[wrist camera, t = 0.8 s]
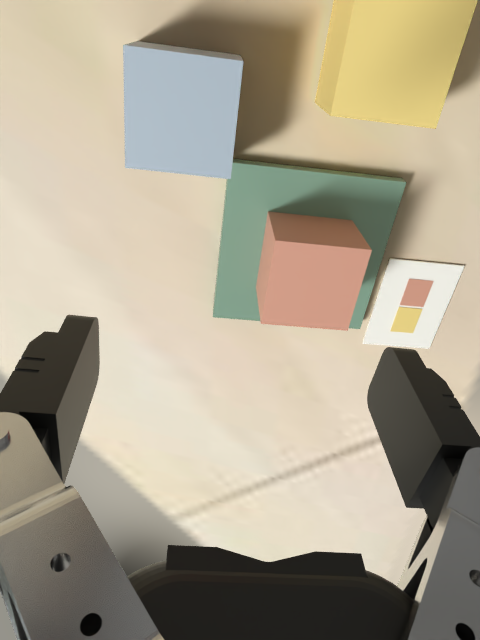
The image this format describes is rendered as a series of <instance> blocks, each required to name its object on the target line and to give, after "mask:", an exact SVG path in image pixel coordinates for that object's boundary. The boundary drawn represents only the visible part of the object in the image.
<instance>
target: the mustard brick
mask: <svg viewBox="0 0 480 640" xmlns="http://www.w3.org/2000/svg"><path fill="white" fill-rule="evenodd" d="M477 1H478V0H334V3H333V8H332V14H331V19H330V24H329V30H328V35H327V40H326V46H325V51H324V56H323V61H322V67H321V72H320V77H319V83H318V88H317V93H316V99H315V103H316V104H317V105H318V106H320V107H321V108H322V109H323V110H324V111H325V112H327V113H328V114H329V115H330V116H337V117H345V118H353V119H361V120H369V121H377V122H385V123H393V124H401V125H409V126H417V127H425V128H433V129H436V126H437V123H438V120H439V117H440V114H441V111H442V108H443V105H444V102H445V99H446V96H447V93H448V90H449V87H450V84H451V81H452V78H453V74H454V71H455V68H456V65H457V62H458V59H459V56H460V53H461V50H462V47H463V44H464V41H465V38H466V35H467V32H468V29H469V26H470V23H471V20H472V17H473V13H474V10H475V7H476V4H477Z"/></svg>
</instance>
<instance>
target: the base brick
mask: <svg viewBox="0 0 480 640" xmlns="http://www.w3.org/2000/svg"><path fill="white" fill-rule="evenodd" d="M371 251H372V249H371V248H370V246H369V245H368V243H367V242H366V240H365V239H364V237H363V236H362V234H361V233H360V231H359V230H358V228H357V227H356V225H355V224H354V222H353V221H352V220H345V219H336V218H326V217H316V216H307V215H297V214H288V213H278V212H269V211H268V214H267V220H266V227H265V233H264V239H263V245H262V252H261V258H260V264H259V271H258V277H257V283H256V292H257V299H258V306H259V314H260V321H261V324H272V325H285V326H297V327H310V328H322V329H335V330H347V331H348V328H349V325H350V321H351V318H352V315H353V311H354V308H355V305H356V301H357V298H358V295H359V291H360V288H361V285H362V281H363V278H364V275H365V271H366V268H367V265H368V261H369V258H370V255H371Z"/></svg>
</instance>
